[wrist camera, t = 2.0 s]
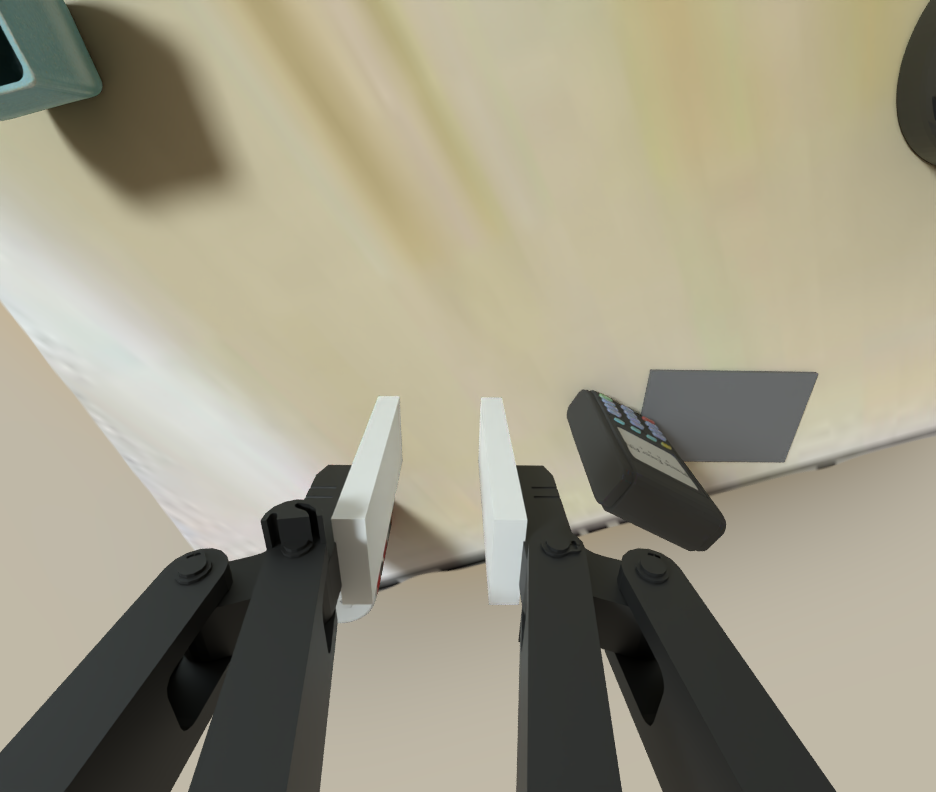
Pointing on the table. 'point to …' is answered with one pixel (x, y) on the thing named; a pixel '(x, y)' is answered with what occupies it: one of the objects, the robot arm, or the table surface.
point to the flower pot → (42, 58)
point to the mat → (728, 412)
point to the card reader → (641, 473)
